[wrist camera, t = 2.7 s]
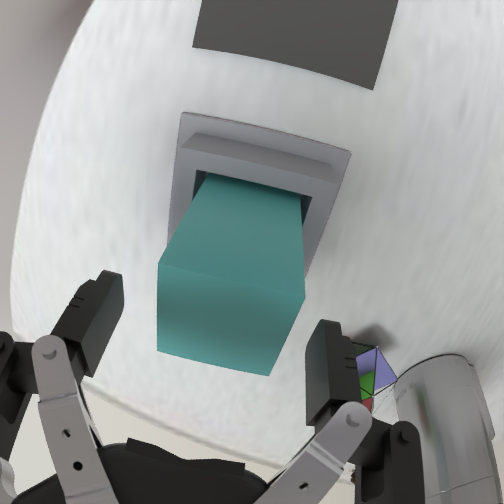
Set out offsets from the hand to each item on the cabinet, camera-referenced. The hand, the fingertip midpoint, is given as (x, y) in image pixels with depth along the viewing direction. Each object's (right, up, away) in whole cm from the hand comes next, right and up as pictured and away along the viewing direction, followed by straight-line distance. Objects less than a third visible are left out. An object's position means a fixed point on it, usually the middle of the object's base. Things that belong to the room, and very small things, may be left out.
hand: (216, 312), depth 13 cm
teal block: (+1, +5, +8) cm, 9 cm away
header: (+1, +5, +8) cm, 10 cm away
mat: (+4, +16, 0) cm, 17 cm away
